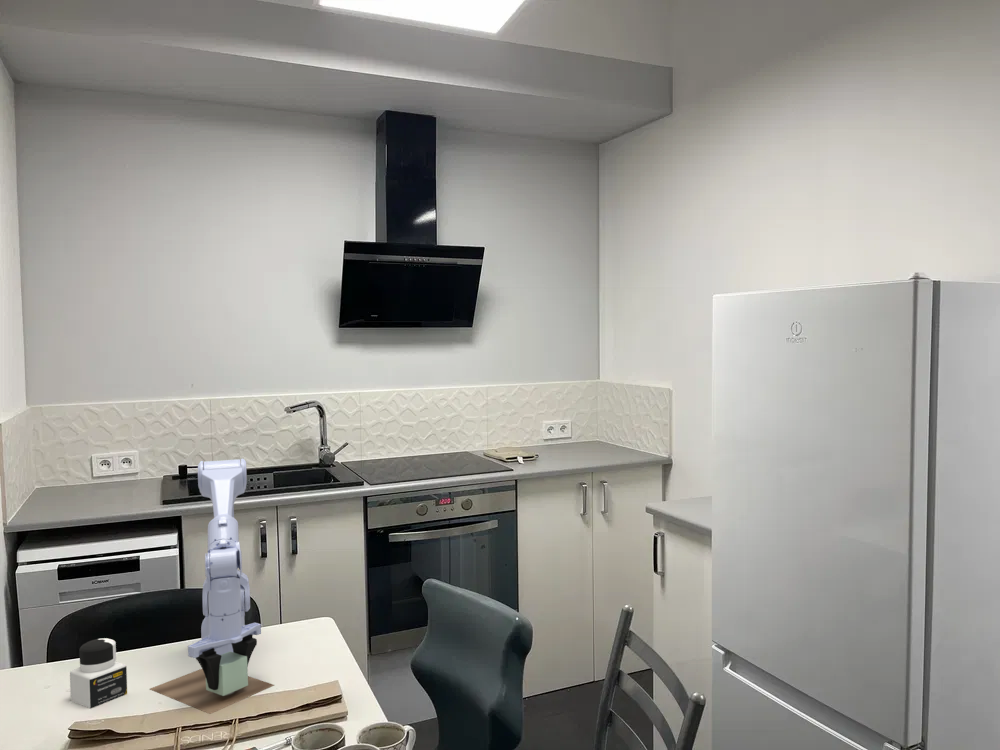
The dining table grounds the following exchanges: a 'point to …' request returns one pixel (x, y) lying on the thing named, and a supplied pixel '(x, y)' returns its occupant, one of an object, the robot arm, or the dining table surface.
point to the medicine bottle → (98, 674)
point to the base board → (206, 692)
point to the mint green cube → (231, 673)
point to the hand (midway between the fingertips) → (227, 682)
